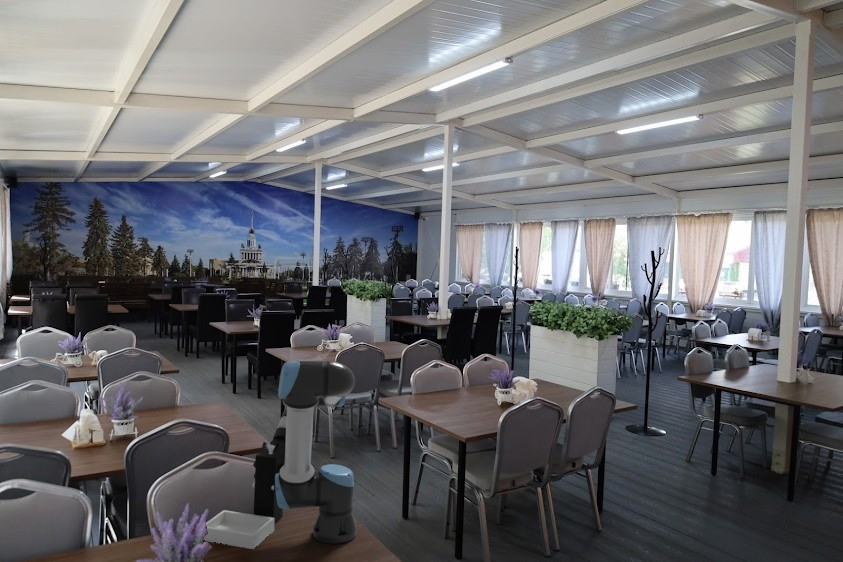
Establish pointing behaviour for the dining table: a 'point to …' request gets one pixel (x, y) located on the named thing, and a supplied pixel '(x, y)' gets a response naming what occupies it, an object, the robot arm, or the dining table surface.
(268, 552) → the dining table surface
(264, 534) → the tray
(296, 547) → the dining table surface
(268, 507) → the black tall block
